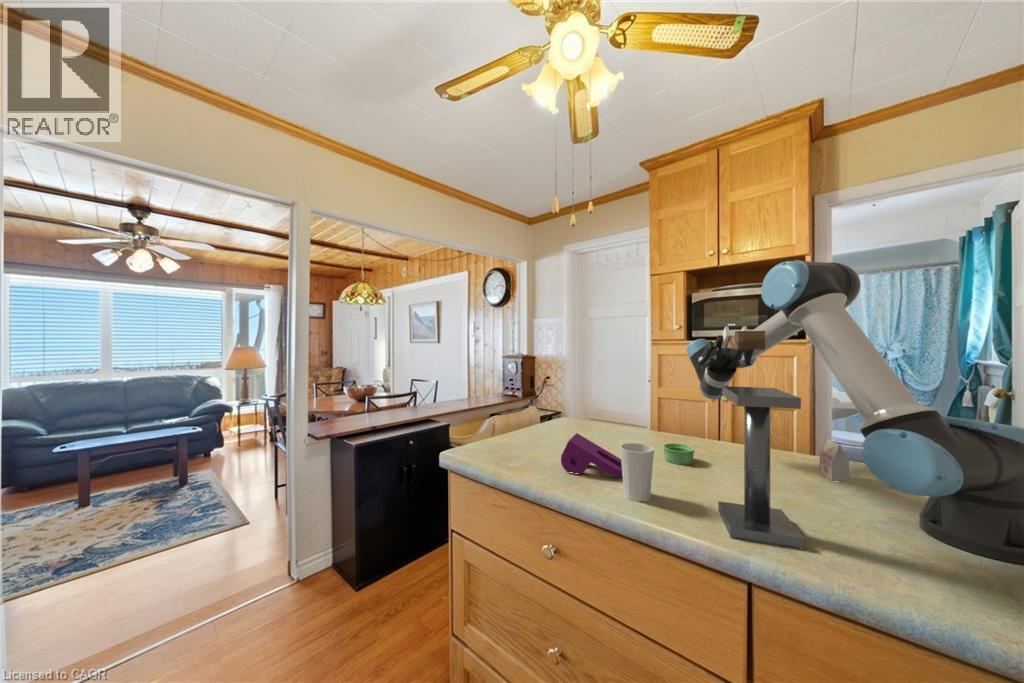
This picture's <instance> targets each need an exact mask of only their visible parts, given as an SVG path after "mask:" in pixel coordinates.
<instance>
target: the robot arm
mask: <svg viewBox="0 0 1024 683" xmlns="http://www.w3.org/2000/svg"><path fill="white" fill-rule="evenodd" d="M760 291H761V292H760V293H761V299H762V301H763V303H764V304H765V305H766V306H767V307H769V308H770V309H772V310H777V311H778V312H777V313H775V314H774V315H773V316H771V317H770V318H768V319H767V320H765V321H764V322H762V323H761V324H760V325H758V326H757V327H755V328H753V330H752V331H765V350H741V349H735V348H725V346H726V344H727V341H728V339H729V336H731V335H730V329H729V326H724V328H723V332H722V334H721V335H717V337H716V339H715V340H714V341H712V340H709V341H708V340H707V339H705V338H698V339H696V340H693V341H691V342H690V343H689V344H687V346H686V349H685V350H686V352H687V355H688V359H689V360H690V362H691V364H692V367H693V368H694V370H695V373H696V376H697V379H698V381H699V390H700V392H701V395H703V397H705V398H707V399H710V400H718V399H721V398H722V397H724V396H723V395H722V386H729V385H730V384H731V382H732V380H733V378H734V376H735V374H736V373H737V369H744V368H748V367H749V368H750V367H752V366H753V365H754V364H755V362H756V360H757V357H759V356H761V355H762V354H764V353H766V352H767V351H769V350H771V349H772V348H774V347H776V346H777V345H778V344H781V343H782V342H785V341H786V340H787V339H789V338H790V337H792V336H793V335H796V334H797V333H799V332H800V331H804V333H805V334H806V335H807V337H808V339H809V340H810V341H811V343H812V345H813V346H814V348H815V349H816V351H817V352H818V353H819V355H820V357H821V358H822V359H823V361H824V362H825V364H826V365H827V367H828V369H829V370H830V372H831V373H832V375H833V376H834V377H835V379H836V380H837V381H838V383H839V385H840V387H841V388H842V390H843V391H844V393H845V394H846V395H847V397H848V398H849V401H851V403H852V404H853V406H854V407H855V409H856V411H857V412H858V413H859V414H860V416H861V418H862V423H861V425H860V427H859V431H860V433H861V434H862V436H863V437H864V440H863V441H862V444H861V445H862V447H863V448H862V450H861V455H862V456H861V457H862V459H863V462H864V464H865V466H866V468H867V469H868V470H869V471H870V472H871V473H872V475H874V476H875V478H876V479H877V480H879V481H880V482H882V483H883V484H884V485H886V486H887V487H889V488H891V489H894V490H896V491H898V492H901V493H903V494H907V495H910V496H915V497H916V496H917V497H918V496H919V497H928V498H927V500H926V502H925V504H924V505H923V507H922V509H921V511H920V512H919V516H918V518H919V519H918V522H919V523H918V524H919V525H918V526H919V527H920V529H921V530H922V531H923V532H925V533H926V534H927V535H929V536H931V537H932V538H935V539H936V540H938V541H940V542H942V543H945V544H947V545H950V546H953V547H955V548H958V549H960V550H964V551H967V552H969V553H973V554H976V555H980V556H983V557H986V558H990V559H994V560H999V561H1004V562H1009V563H1014V564H1022V565H1024V427H1022V426H1021V427H1020V426H1016V425H1009V424H1004V423H999V422H992V421H991V422H990V421H983V420H976V419H970V418H964V417H956V416H955V417H954V416H946V415H941V414H940V413H939V411H938V410H937V409H935V408H932V407H930V406H925V405H922V404H920V403H918V401H917V400H916V399H915V397H914V396H913V395H912V393H911V392H910V391H909V390H908V388H907V387H906V386H905V384H904V383H903V382H902V380H901V378H899V376H898V375H897V374H896V373H895V371H894V370H893V369H892V367H891V366H890V365H889V363H888V362H887V361H886V360H885V358H884V357H883V356H882V354H881V353H880V352H879V351H878V349H877V348H876V347H875V345H874V344H873V342H872V341H871V340H870V339H869V338H868V336H867V335H866V333H864V331H863V329H862V328H861V327H860V326H859V324H858V323H857V322H856V321H855V319H854V318H853V316H851V313H849V312H848V310H847V309H846V308H848V307H849V306H850V305H852V303H854V301H855V300H856V299H857V297H858V295H859V294H860V292H861V281H860V277H859V275H858V273H857V272H856V270H854V269H853V268H852V267H850V266H848V265H847V264H844V263H839V262H832V261H831V262H826V261H825V262H823V261H821V262H820V261H806V260H799V259H798V260H797V259H796V260H787V261H782V262H780V263H778V264H776V265H775V266H773V267H772V268H771V269H770V270H769V271H768V272H767V273H766V275H765V277H764V279H763V281H762V285H761V290H760ZM740 331H748V327H747V325H744V326H742V327H741V330H740Z"/></svg>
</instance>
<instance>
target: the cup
mask: <svg viewBox="0 0 1024 683" xmlns="http://www.w3.org/2000/svg"><path fill="white" fill-rule="evenodd" d="M619 450H620V459H621V463H622V475H623V478H622V486H623V496H624V495H625V496H624V497H625V498H626V497H627V498H626V499H628V498H629V499H628V500H630V499H631V500H630V501H633V500H635V501H634V502H640V501H643V502H648V501H650V500H651V498H652V497H651V496H652V495H651V494H652V479H653V478H652V477H653V464H654V454H655V448H654V447H653V446H651V445H649V444H644V443H639V442H625V443H622V444H620V446H619ZM649 499H650V500H649ZM647 500H648V501H647Z"/></svg>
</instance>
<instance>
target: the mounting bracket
mask: <svg viewBox="0 0 1024 683" xmlns="http://www.w3.org/2000/svg"><path fill="white" fill-rule="evenodd" d="M560 463H561V466H562V468H563V469H564V470H565V472H567V473H568V472H573V473H579V474H580V475H582V474H583V473H585V472H586V470H587V469H588V467H589V465H590V464H593V465H595V466H596V467H598V468H599V469H601V470H603V471H604V472H606V473H607V474H609V475H611V476H613V477H616V478H620V479H623V475H622V463H621V457H620V458H619V457H618V456H617V455H615V454H613V453H611V452H610V451H608V450H606V449H604V448H603V447H602V446H600V445H597V444H596V443H595V442H593V441H591V440H589V439H588V438H586V437H584V436H583V435H581V434H579V433H578V432H576V433H575V434H574V435H573V436H572V437H570V439H569V440H568V441H567V444H566V446H565V448H564V450H563V452H562V453H561V456H560Z"/></svg>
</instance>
